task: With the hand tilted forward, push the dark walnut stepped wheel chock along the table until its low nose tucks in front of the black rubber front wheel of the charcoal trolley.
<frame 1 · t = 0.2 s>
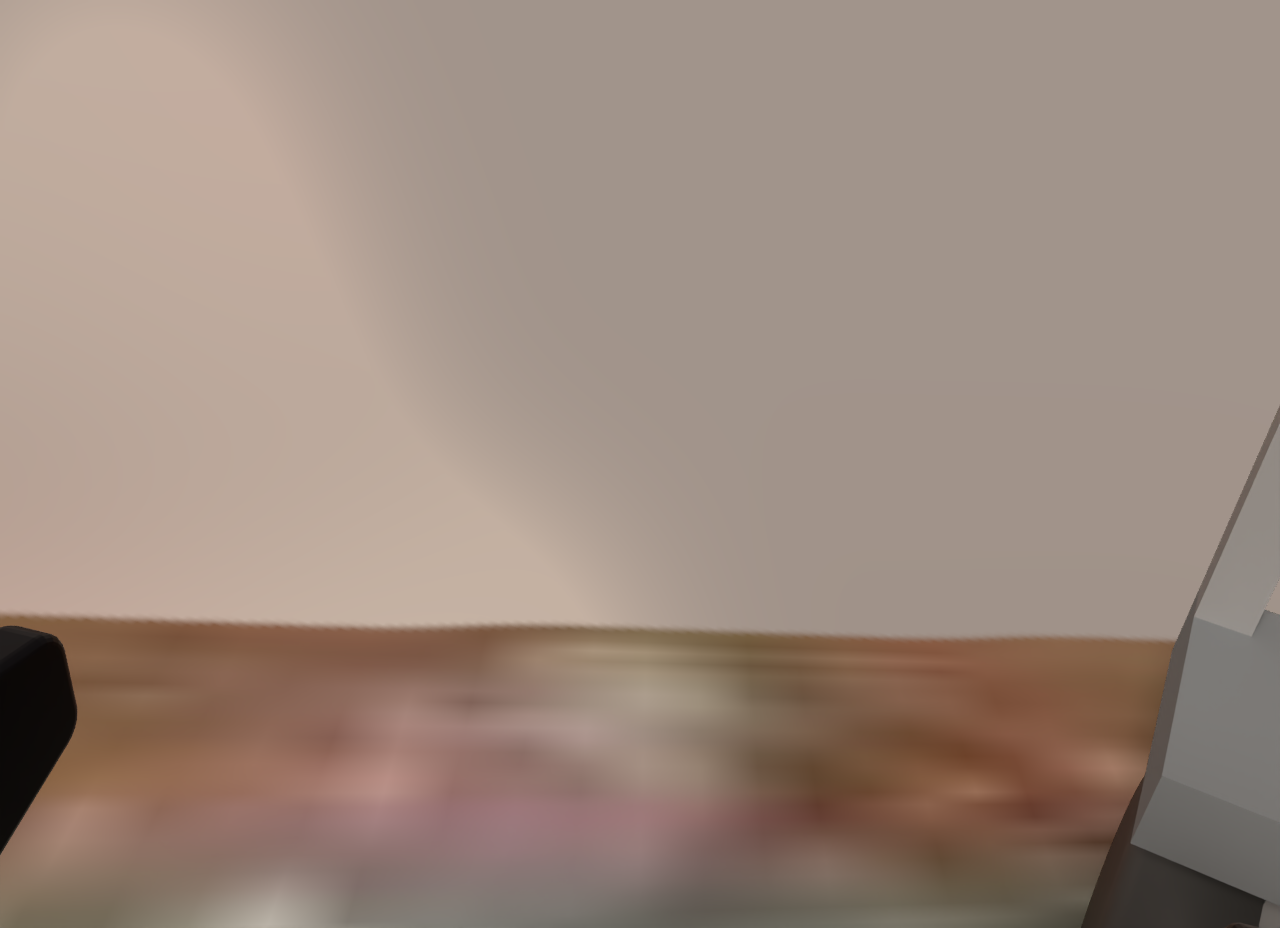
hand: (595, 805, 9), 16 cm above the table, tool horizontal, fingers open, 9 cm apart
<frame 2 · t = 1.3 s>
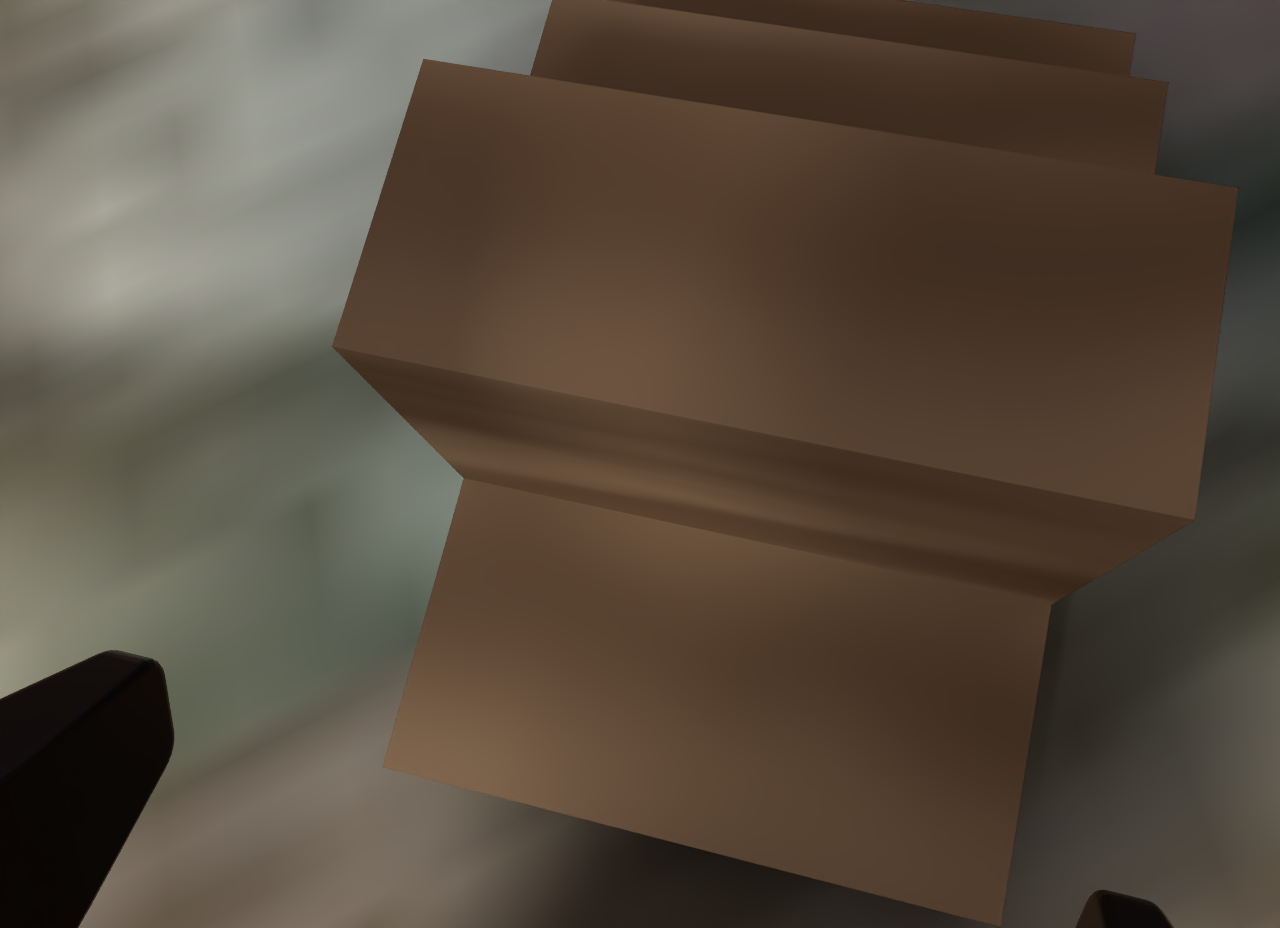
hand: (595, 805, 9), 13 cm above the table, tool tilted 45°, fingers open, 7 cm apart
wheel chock: (780, 415, 23), on the table
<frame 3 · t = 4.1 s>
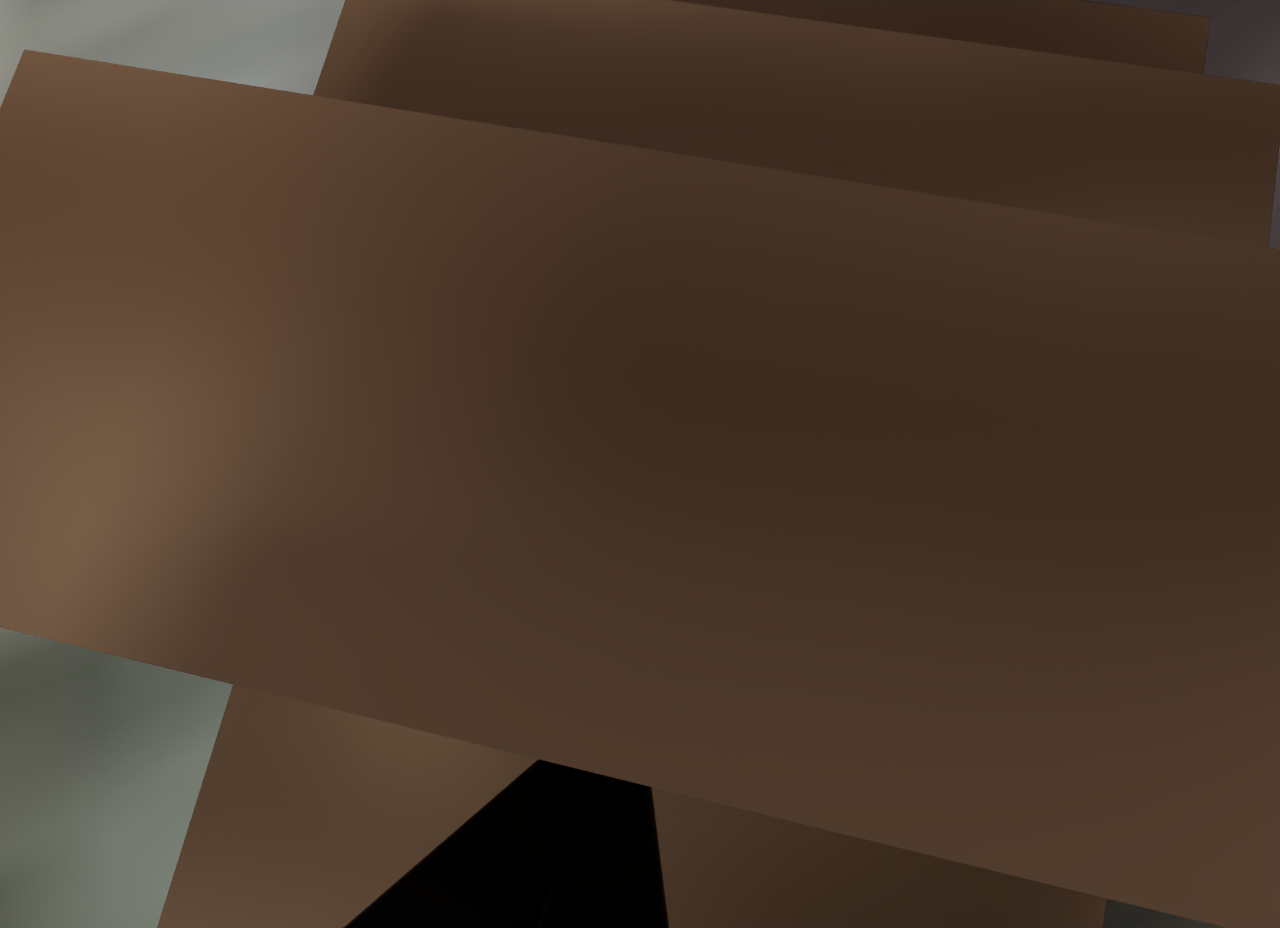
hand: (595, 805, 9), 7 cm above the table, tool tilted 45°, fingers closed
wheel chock: (713, 554, 16), on the table
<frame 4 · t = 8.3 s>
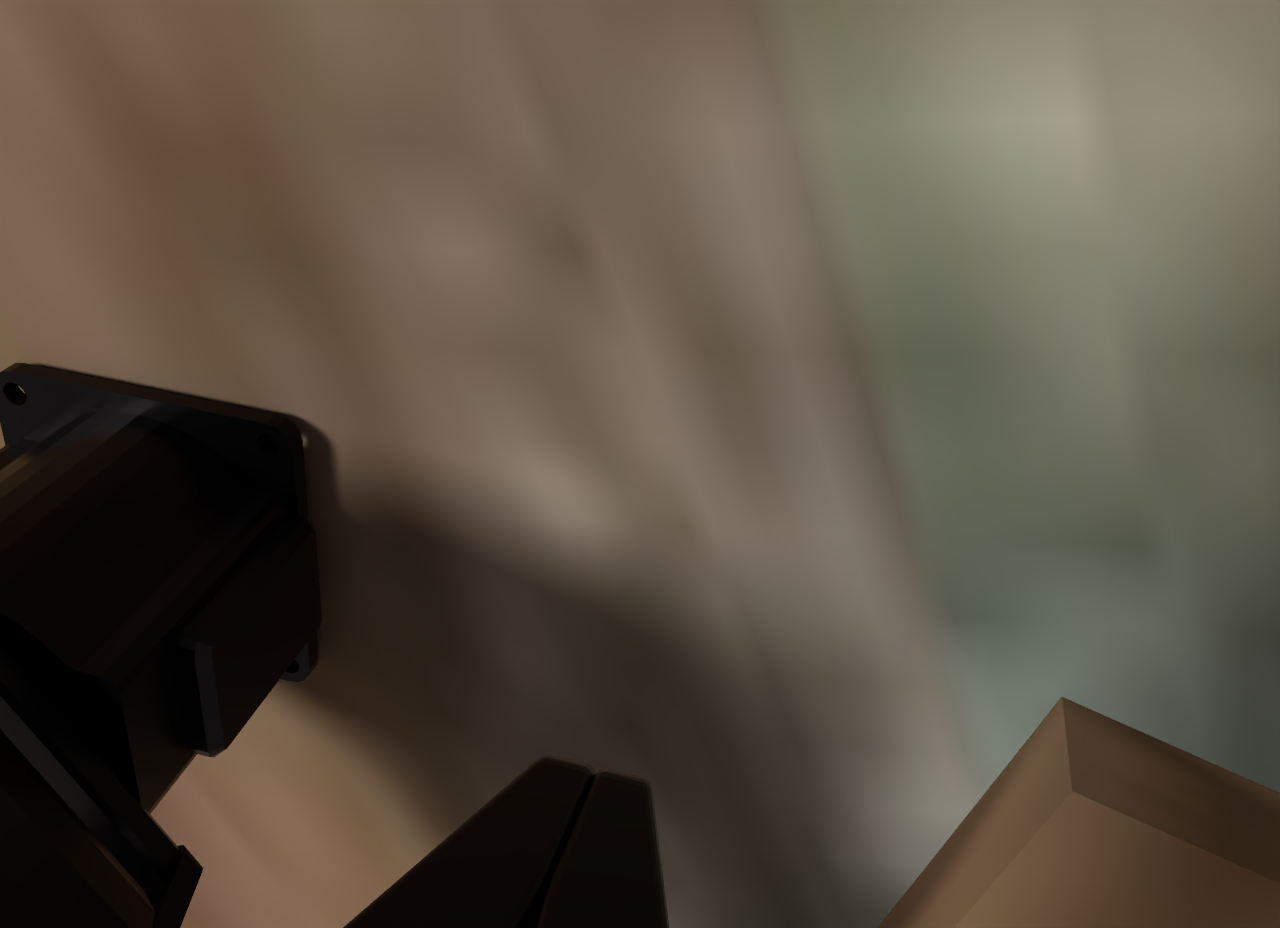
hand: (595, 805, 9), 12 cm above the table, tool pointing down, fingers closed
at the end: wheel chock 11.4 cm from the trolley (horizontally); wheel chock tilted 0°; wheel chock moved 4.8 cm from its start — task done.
